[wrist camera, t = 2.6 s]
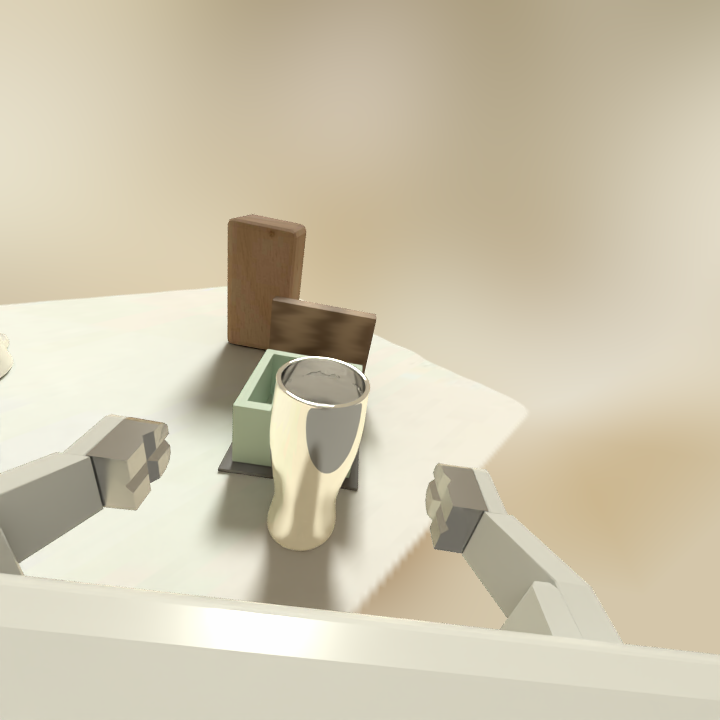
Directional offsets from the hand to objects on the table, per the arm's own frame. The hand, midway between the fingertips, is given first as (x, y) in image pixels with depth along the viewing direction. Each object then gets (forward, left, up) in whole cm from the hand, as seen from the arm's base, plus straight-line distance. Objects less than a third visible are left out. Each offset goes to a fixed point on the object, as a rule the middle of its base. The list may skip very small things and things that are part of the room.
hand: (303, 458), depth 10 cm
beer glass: (0, +12, -20) cm, 23 cm away
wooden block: (-13, +47, -20) cm, 53 cm away
